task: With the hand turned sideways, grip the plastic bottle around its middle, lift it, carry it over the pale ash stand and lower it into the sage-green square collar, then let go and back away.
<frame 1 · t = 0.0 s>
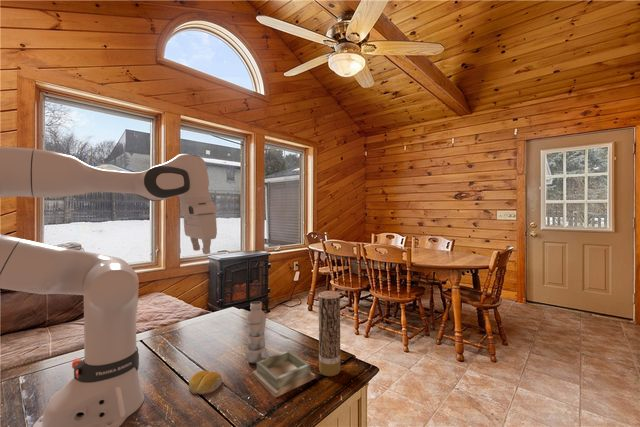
hand: (201, 252, 90), 39 cm above the table, tool pointing down, fingers open, 8 cm apart
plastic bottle: (256, 361, 99), on the table
bottle stand: (283, 376, 90), on the table
bread roll: (205, 387, 85), on the table
paper tube: (329, 372, 93), on the table
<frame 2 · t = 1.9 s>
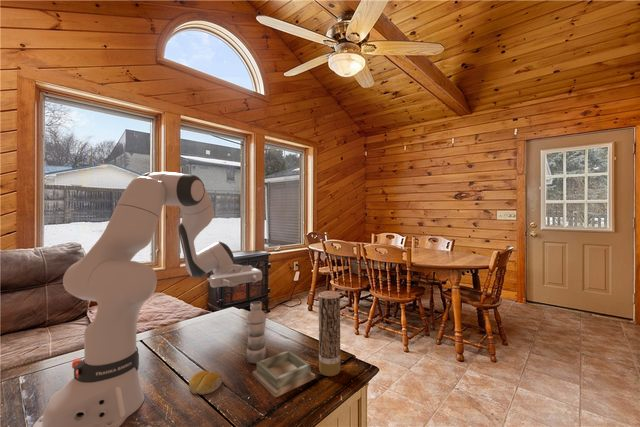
hand: (243, 282, 109), 25 cm above the table, tool horizontal, fingers open, 8 cm apart
nothing on the table moved.
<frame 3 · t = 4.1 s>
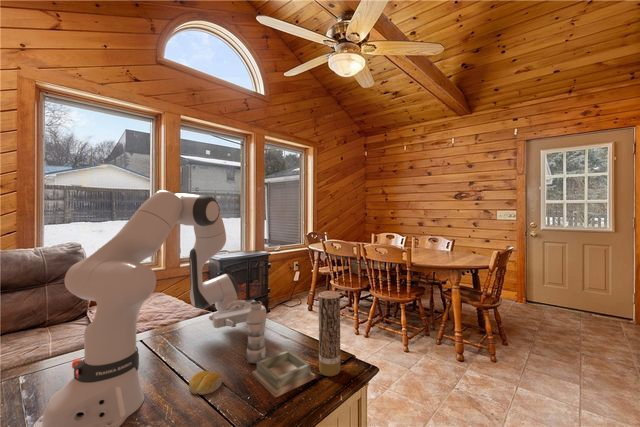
hand: (246, 322, 106), 11 cm above the table, tool horizontal, fingers open, 8 cm apart
nothing on the table moved.
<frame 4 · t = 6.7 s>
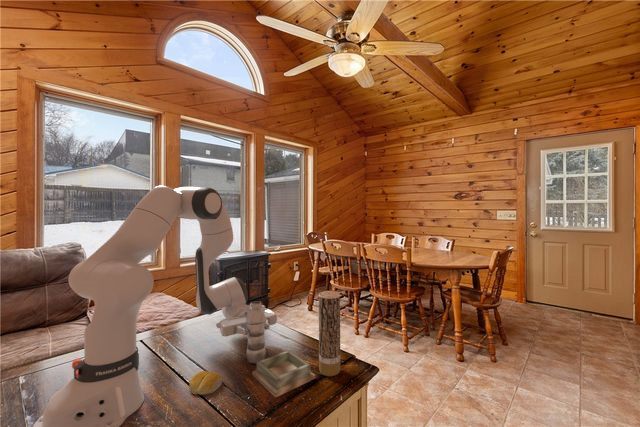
hand: (257, 329, 98), 11 cm above the table, tool horizontal, fingers closed on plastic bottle, 6 cm apart
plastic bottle: (256, 361, 99), on the table, touching gripper
everything else where it was.
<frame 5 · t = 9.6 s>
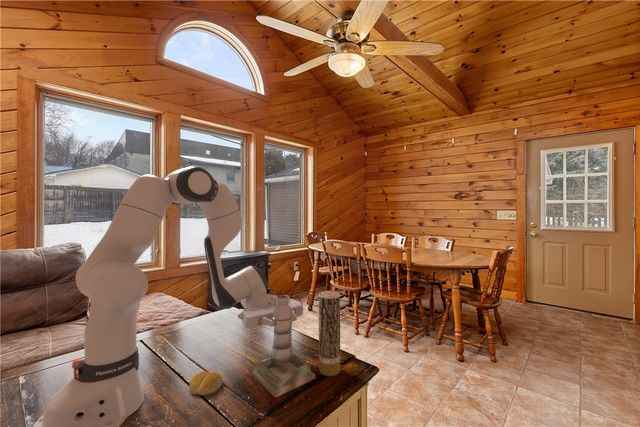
hand: (284, 321, 89), 18 cm above the table, tool horizontal, fingers closed on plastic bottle, 6 cm apart
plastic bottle: (282, 361, 90), point 5 cm above the table, touching gripper
everything else where it was.
when the fingers open (14 cm above the table, at t = 11.4 s): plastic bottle stays where it is, resting on bottle stand.
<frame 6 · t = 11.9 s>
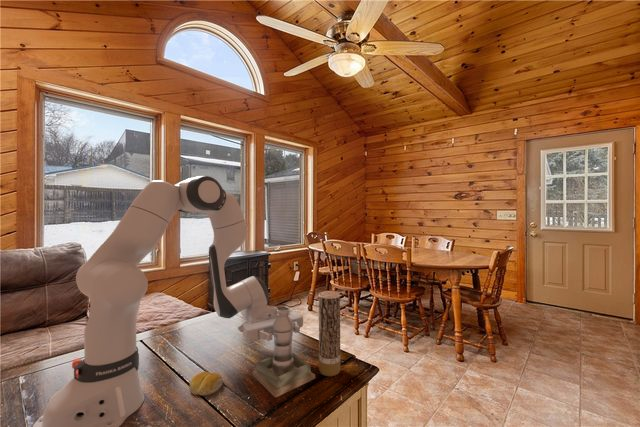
hand: (284, 333, 89), 14 cm above the table, tool horizontal, fingers open, 8 cm apart
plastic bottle: (283, 373, 90), point 1 cm above the table, touching bottle stand
everything else where it was.
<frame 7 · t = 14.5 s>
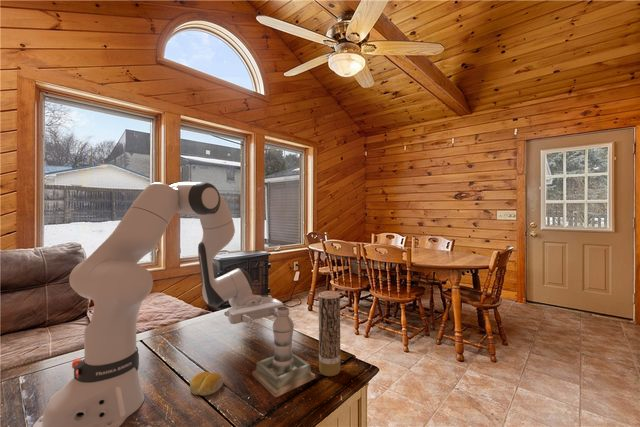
hand: (264, 317, 100), 15 cm above the table, tool horizontal, fingers open, 8 cm apart
nothing on the table moved.
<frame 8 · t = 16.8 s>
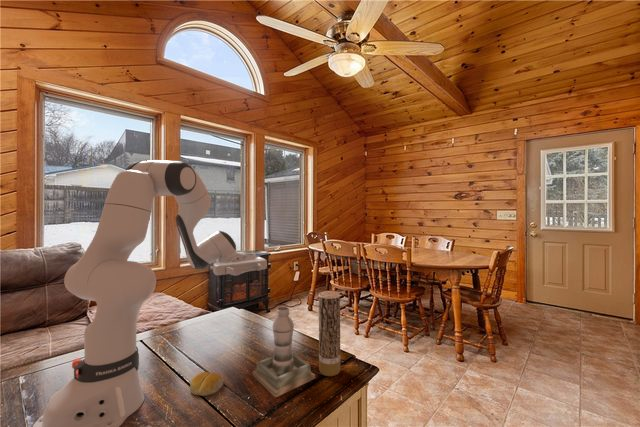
hand: (247, 269, 106), 30 cm above the table, tool horizontal, fingers open, 8 cm apart
nothing on the table moved.
at the end: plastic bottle 0.2 cm off-centre on the bottle stand, point 1.0 cm above the bottle stand's base; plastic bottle tilted 0°; the gripper is holding nothing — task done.
